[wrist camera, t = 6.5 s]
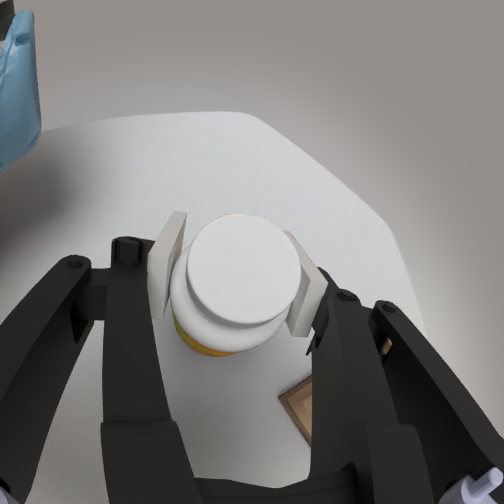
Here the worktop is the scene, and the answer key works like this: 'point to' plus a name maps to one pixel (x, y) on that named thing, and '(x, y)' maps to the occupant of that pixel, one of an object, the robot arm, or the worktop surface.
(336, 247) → the worktop surface
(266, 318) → the supplement bottle
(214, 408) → the worktop surface
